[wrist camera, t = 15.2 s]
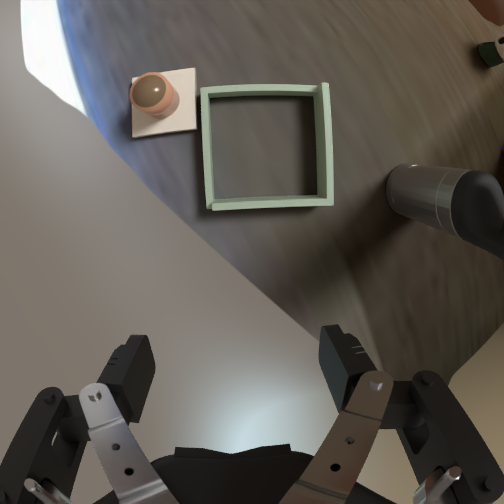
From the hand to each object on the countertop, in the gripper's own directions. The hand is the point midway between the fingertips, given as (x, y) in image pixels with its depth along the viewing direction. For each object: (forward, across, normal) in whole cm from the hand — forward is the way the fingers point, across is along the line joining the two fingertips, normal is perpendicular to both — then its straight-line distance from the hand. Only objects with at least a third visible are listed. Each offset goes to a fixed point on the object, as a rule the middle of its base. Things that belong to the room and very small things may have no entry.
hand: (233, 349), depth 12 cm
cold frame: (+33, -5, -11) cm, 35 cm away
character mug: (+33, -59, -39) cm, 78 cm away
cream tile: (+33, +10, -19) cm, 39 cm away
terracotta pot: (+32, +10, -19) cm, 38 cm away
